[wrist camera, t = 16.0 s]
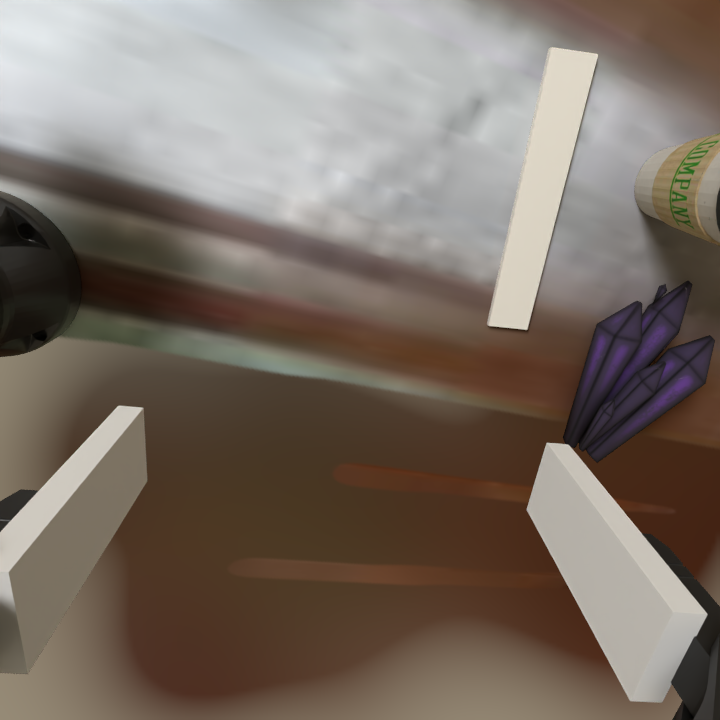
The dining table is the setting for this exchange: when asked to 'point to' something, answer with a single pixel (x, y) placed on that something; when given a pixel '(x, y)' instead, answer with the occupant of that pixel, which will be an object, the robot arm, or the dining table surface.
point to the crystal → (635, 373)
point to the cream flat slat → (541, 184)
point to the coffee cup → (684, 187)
